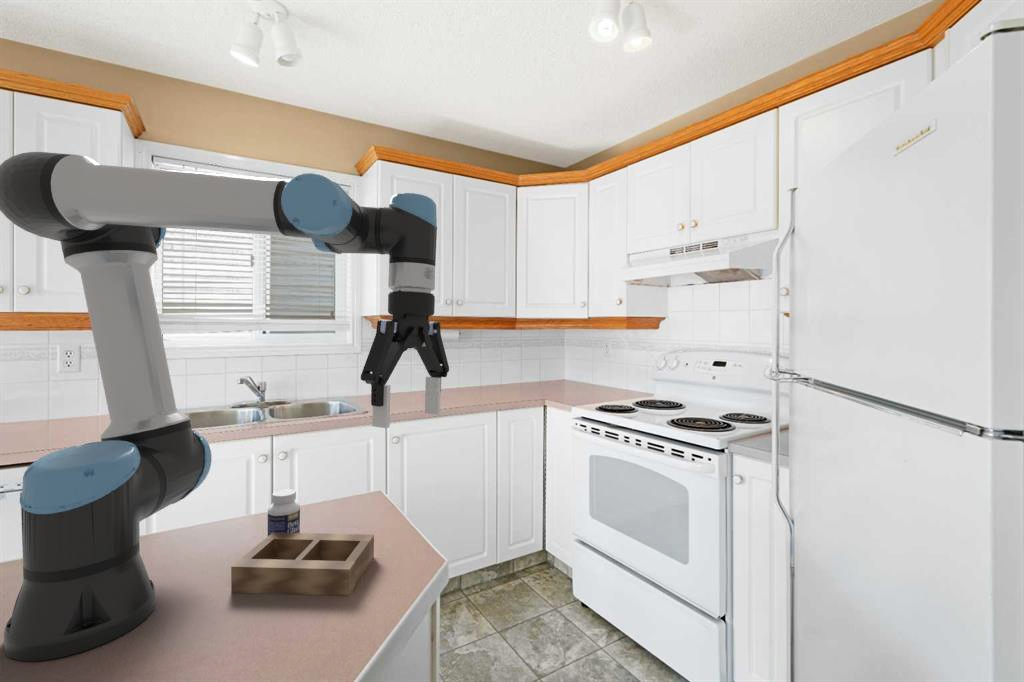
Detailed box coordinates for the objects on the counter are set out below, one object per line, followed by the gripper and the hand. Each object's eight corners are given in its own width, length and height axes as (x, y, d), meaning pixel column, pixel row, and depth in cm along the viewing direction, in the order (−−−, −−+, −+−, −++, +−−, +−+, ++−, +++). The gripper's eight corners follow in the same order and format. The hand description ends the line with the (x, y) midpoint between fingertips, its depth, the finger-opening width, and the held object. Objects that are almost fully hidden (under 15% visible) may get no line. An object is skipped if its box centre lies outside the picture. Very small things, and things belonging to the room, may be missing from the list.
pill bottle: (291, 551, 85) (291, 498, 85) (261, 551, 85) (261, 497, 85) (304, 538, 91) (305, 487, 90) (276, 537, 91) (276, 487, 90)
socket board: (231, 592, 72) (231, 566, 72) (272, 554, 84) (272, 532, 84) (349, 595, 72) (349, 569, 72) (373, 557, 84) (373, 534, 84)
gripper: (378, 284, 65) (374, 437, 66) (469, 297, 88) (466, 411, 88) (337, 284, 69) (334, 430, 69) (436, 297, 91) (433, 407, 92)
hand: (408, 419), depth 79 cm, fingers open, 13 cm apart
